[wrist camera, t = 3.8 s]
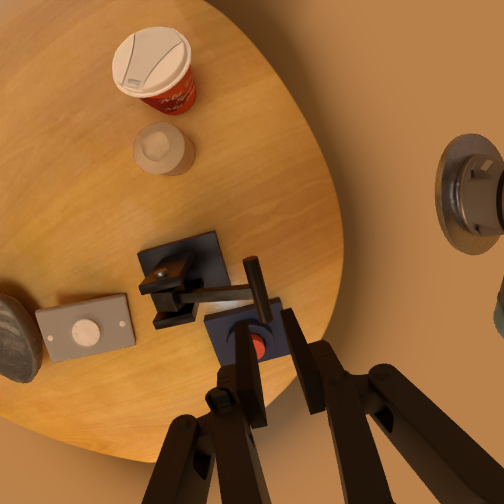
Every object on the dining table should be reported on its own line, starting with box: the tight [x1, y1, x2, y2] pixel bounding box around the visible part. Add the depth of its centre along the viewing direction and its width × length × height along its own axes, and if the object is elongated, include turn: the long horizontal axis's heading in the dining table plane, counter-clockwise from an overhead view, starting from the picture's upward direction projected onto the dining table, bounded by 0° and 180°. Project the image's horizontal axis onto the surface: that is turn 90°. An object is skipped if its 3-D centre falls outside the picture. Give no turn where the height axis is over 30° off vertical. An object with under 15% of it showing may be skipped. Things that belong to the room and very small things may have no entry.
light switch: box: [35, 293, 136, 362], centre depth 37 cm, size 8×6×14 cm
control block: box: [204, 297, 291, 366], centre depth 40 cm, size 11×9×4 cm
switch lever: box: [150, 256, 274, 324], centre depth 27 cm, size 12×6×2 cm, turn 105°
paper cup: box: [112, 26, 196, 115], centre depth 26 cm, size 8×8×14 cm
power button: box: [251, 333, 265, 359], centre depth 38 cm, size 4×4×2 cm
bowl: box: [0, 293, 43, 383], centre depth 35 cm, size 18×18×8 cm
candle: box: [133, 122, 195, 176], centre depth 30 cm, size 6×6×10 cm
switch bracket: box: [137, 230, 231, 330], centre depth 33 cm, size 11×8×12 cm
